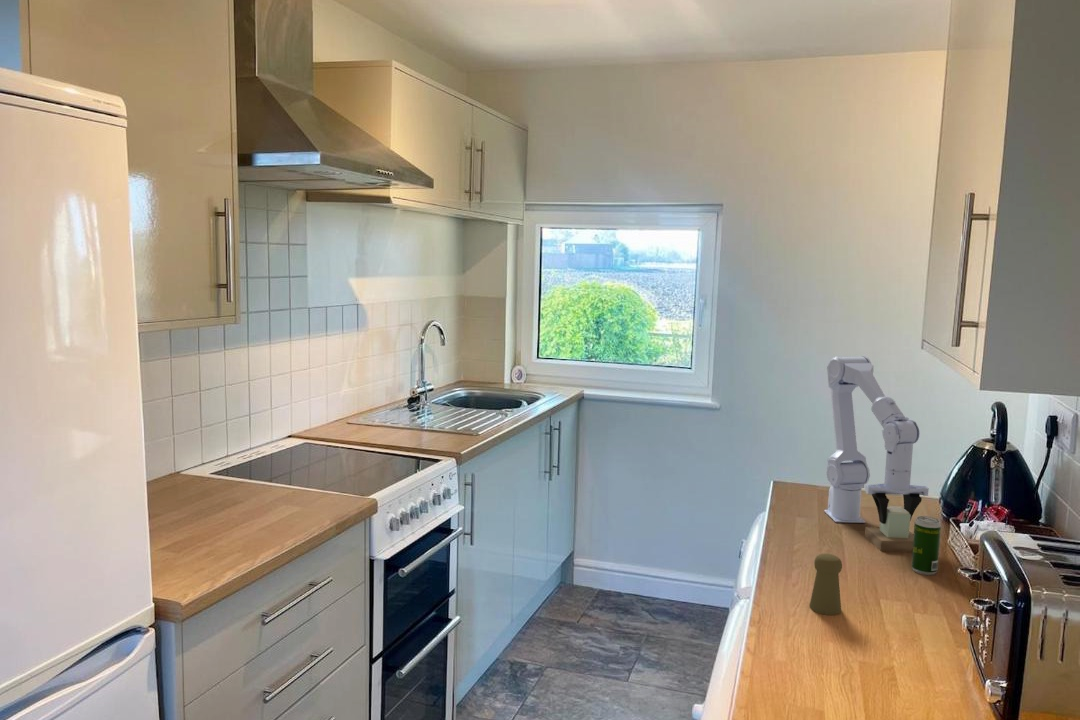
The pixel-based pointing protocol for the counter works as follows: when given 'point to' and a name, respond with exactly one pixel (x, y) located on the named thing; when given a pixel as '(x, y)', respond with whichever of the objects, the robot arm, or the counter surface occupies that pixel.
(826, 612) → the olive pepper mill
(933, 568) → the beer can
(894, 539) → the walnut block
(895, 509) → the tea tin
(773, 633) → the counter surface
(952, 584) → the counter surface
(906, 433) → the robot arm
